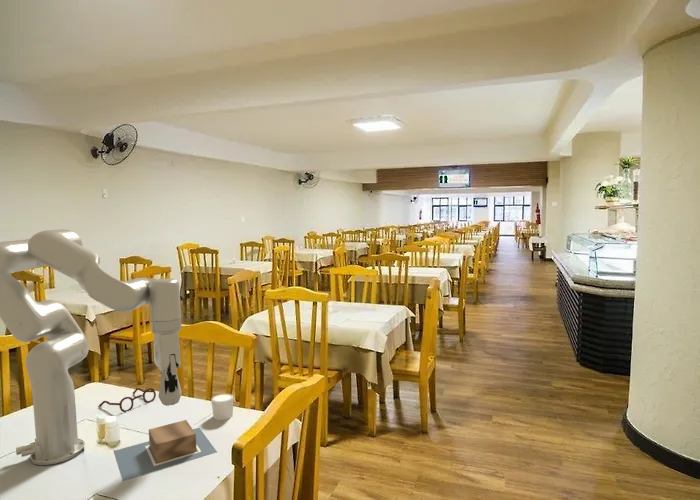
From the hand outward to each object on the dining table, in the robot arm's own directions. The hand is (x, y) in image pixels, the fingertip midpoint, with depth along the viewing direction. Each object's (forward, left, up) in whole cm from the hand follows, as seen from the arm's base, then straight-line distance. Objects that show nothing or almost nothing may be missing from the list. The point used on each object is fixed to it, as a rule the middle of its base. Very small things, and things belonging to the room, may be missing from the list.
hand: (169, 391), depth 125 cm
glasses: (-5, +43, -18) cm, 47 cm away
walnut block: (0, 0, -16) cm, 16 cm away
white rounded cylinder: (+18, +12, -17) cm, 28 cm away
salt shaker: (0, 0, -3) cm, 3 cm away
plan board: (-2, 0, -17) cm, 17 cm away
